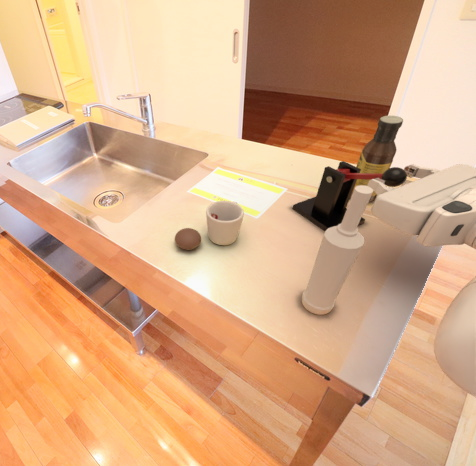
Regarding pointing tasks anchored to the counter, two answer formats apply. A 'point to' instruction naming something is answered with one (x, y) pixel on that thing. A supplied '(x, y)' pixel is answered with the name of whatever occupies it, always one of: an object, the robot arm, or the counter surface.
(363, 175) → the lever
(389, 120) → the sauce bottle
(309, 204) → the press
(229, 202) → the cup
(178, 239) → the egg
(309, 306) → the bottle
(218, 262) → the counter surface
